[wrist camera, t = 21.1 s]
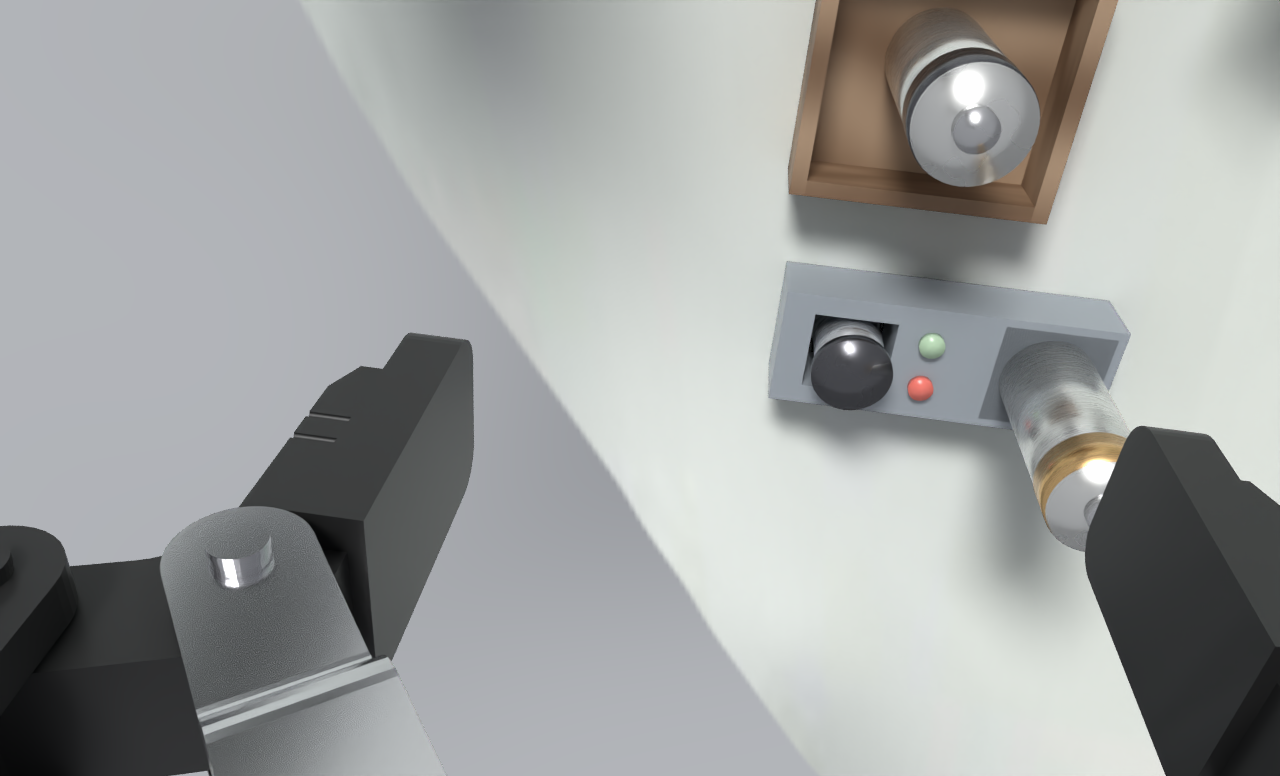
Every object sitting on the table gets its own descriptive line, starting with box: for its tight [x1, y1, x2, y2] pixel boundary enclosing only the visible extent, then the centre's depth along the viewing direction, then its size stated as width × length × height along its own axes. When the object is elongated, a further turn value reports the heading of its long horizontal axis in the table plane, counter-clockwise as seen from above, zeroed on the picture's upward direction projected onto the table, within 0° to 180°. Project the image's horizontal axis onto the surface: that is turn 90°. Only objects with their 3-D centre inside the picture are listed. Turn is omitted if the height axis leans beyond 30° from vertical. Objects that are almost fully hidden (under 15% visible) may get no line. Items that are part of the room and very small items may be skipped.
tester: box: [769, 261, 1131, 430], centre depth 49 cm, size 6×16×4 cm, turn 85°
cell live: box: [999, 341, 1131, 552], centre depth 43 cm, size 4×4×11 cm
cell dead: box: [885, 7, 1040, 187], centre depth 39 cm, size 4×4×11 cm
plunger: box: [811, 314, 893, 410], centre depth 49 cm, size 4×4×5 cm
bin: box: [788, 0, 1118, 224], centre depth 42 cm, size 11×11×4 cm
